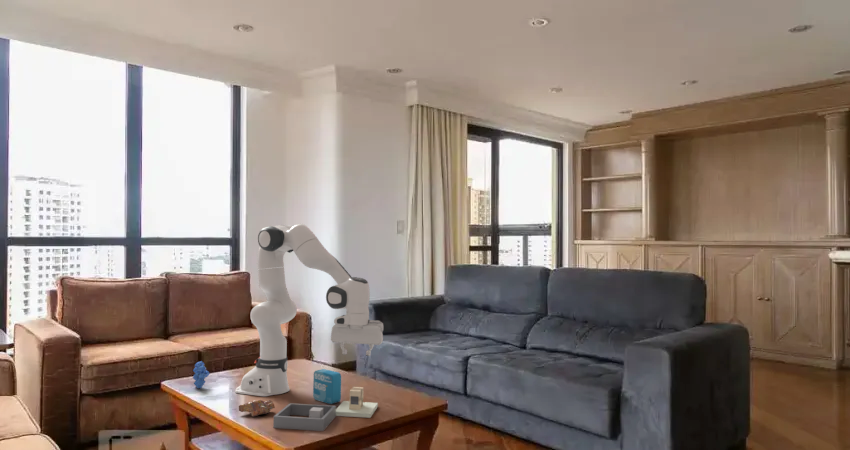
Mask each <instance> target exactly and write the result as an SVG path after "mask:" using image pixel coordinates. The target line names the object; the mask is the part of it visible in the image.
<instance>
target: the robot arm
mask: <svg viewBox="0 0 850 450" xmlns="http://www.w3.org/2000/svg"><path fill="white" fill-rule="evenodd" d="M257 243H258V245H259V247H258V252H257V276H258V278H257V279H258V287H259V288H260V290H261V291H262V292H263V294H264V296H265V298H266V301H262V302H260V303H258V304H256V305H255V306H253V308H252V309H251V310H250V312H249V313H250V320H251V324H253V325H254V326H255V327H256V330H257V333H258V337H259V357H258V358H257V359H255V360H254V364H255V366H254V367H253V368H252V369H250V370H249V371H248V372H246V373H245V374H244V375H243V377H242V379H241V382H240V385H239V386H237V387H236V388H235V390H234V393H235V394H241V395H249V396H250V395H251V396H256V397H257V396H258V397H269V396H273V395H275V396H276V395H281V394H284V393H287V392H289V391H290V390H291V389H290V387H289V381H288V375H287V373H288V372H287V371H288V356H287V346H288V345H287V343H288V342H287V341H288V340H287V337H285V336H284V334H283V331H282V326H281V325H283V324H286V323H288V322H290V321H292V320H293V319H294V318H295V316H296V315H297V312H298V310H297V309H298V308H297V304H296V303H295V302H294V300H292V298H291V297H290V294H289V291H288V287H287V284H286V276H285V263H284V255H285V254H286V253H290V254H291V253H292V252H294V254H295V255H296V257H297V259H298V260H299V262H301V263H302V264H303V265H304V266H305V267H306V268H309V269H313V270H318V271H321V272H324V273H326V274H328V275H330V276H331V278H332V279H333V280H334V281H335V282H336V283H337V284H335V285H331V286H330V287H329V288H328V289H327V291H326V296H325V300H326V303H327V305H328V306H329V307H330V308H331V309H334V310H342V309H345V311H346V313H345V314H343V315H340V316H336V317H335V318H334V320H333V322H334V323H333V326H332V328H331V334H330V341H331V342H332V343H338V344H339V347H340V349H341V353H342V355H347V354H348V348H347V349H346V348H345V346H344V345H345V344H356V345H357V344H358V345H368V347H369V349H368V350H366V352H365V356H367V357H370V356H371V352H372V350H373V348H374V347H375V345H376V346H380V345H381V344H382V343H383V339H384V334H383V332H384V323H383V322H382V321H381V320H373V319H370V309H369V304H370V295H371V294H370V293H371V292H370V285H369V282H368V280H366V279H365V278H363V277H357V276H356V277H355V276H353V277H352V275H351V274H350V273H349V272H348V270H346V269H345V267H344V266H343V265H342V264H341V262H339V260H338V259H337V258H336V257H335V256H333V255H332V254H331V253H330V252H329V251H328V250H327V249H326V248H325V246H324V245H323V244H322V243H321V241H320V240H319V238H318V237H317V236H316V234H315V233H314V232H313V231H312V230H311V229H310V228H309V227H308V226H307V225H305V224H303V223H298V224H293V225H288V224H281V225H274V226H271V225H269V226H266V227H263V228H262V229H260V230H259V233H258V235H257Z"/></svg>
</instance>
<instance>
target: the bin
mask: <svg viewBox="0 0 850 450" xmlns="http://www.w3.org/2000/svg"><path fill="white" fill-rule="evenodd" d="M313 407H319V408H323V417H322V418H309V410H310V409H311V408H313ZM336 409H337V405H330V404H328V405H327V404H311V403H310V404H306V403H295V402H294V403H293V402H291V403H288V404H286V405H285V406H284V407H283V408H282V409H281V410H279V411H278V412H277V413H276V414H274V415H273V425H272V426H273V429H285V430H287V429H288V430H303V431H315V432H316V431H317V432H319V431H320V432H324V431H325V430H326V428H327V427H328V426H329V425H330V424H331V422H332V421H333V420H334V419H335V418H336V417H337V416H336ZM303 416H304V417H303Z"/></svg>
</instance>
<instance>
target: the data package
mask: <svg viewBox="0 0 850 450" xmlns="http://www.w3.org/2000/svg"><path fill="white" fill-rule="evenodd" d="M312 386H313V389H312V394H313V395H312V397H313V399H314V400H315V401H319V402H322V403H324V404H328V405H334V404H336V403H340V402H341V400H342V399H341V398H342V375H341V373H340V372H339V371H334V370H330V369H327V368H326V369H325V368H321V369H317V370H315V371H314V372H313V385H312Z"/></svg>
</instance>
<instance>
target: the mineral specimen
mask: <svg viewBox="0 0 850 450" xmlns="http://www.w3.org/2000/svg"><path fill="white" fill-rule="evenodd" d="M275 407H276V406H275V403H274V402H273V401H272V400H271V399H268V400H265V401H264V400H261V399H260V400H253V401H248V402H246V403H242V404H240V405H238V412H240V413H244V412H245V413H246V412H247V413H250V415H251V417H258V416H261V415H267V414H268V413H270V411H271V410H274V409H275Z"/></svg>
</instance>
